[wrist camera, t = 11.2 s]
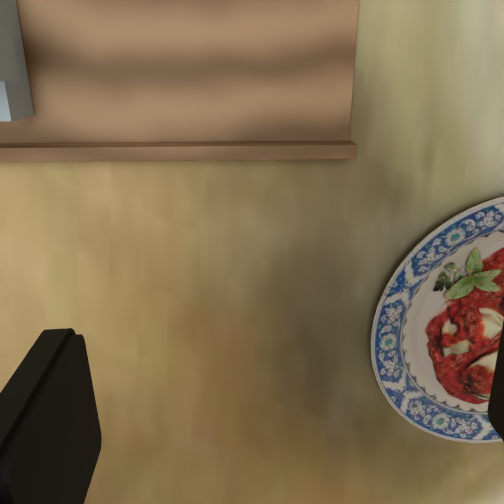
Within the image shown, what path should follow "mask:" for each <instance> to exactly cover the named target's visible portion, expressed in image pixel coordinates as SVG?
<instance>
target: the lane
mask: <svg viewBox="0 0 504 504" xmlns="http://www.w3.org/2000/svg"><path fill="white" fill-rule="evenodd" d="M16 5H17V11H18V17H19V23H20V30H21V36H22V42H23V49H24V55H25V61H26V68H27V74H28V80H29V87H30V93H31V99H32V106H33V112H34V116H30V117H26V118H22V119H18V120H14V121H0V162H94V161H195V160H295V159H356V151H357V145H356V144H354V143H352V142H351V141H349V132H350V118H351V104H352V90H353V76H354V62H355V49H356V35H357V21H358V7H359V0H16Z"/></svg>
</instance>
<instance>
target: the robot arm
mask: <svg viewBox="0 0 504 504" xmlns="http://www.w3.org/2000/svg"><path fill="white" fill-rule="evenodd" d="M488 418H489V421H490V423H491V425H492V427H493V428H494V429H495V431H496V432H497V433H498V435H499V436H500V437H501V439H502V440H503V441H504V320H503V326H502V332H501V337H500V343H499V348H498V354H497V359H496V365H495V370H494V376H493V381H492V387H491V392H490V398H489V403H488ZM100 450H101V430H100V424H99V419H98V413H97V407H96V402H95V396H94V390H93V385H92V379H91V373H90V368H89V362H88V356H87V351H86V345H85V340H84V337H83V335H82V334H81V335H76V334H75V331H74V330H73V329H72V328H68V329H50V330H44V331H43V332H42V333H41V334H40V336H39V337H38V339H37V340H36V342H35V343H34V345H33V346H32V348H31V349H30V351H29V352H28V353H27V355H26V356H25V358H24V359H23V361H22V362H21V364H20V365H19V367H18V368H17V370H16V371H15V372H14V374H13V375H12V377H11V378H10V380H9V381H8V383H7V384H6V386H5V387H4V389H3V390H2V391H1V393H0V504H84V501H85V498H86V495H87V491H88V488H89V485H90V482H91V479H92V476H93V472H94V469H95V466H96V463H97V460H98V457H99V454H100Z"/></svg>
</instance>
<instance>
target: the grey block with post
mask: <svg viewBox="0 0 504 504" xmlns="http://www.w3.org/2000/svg"><path fill="white" fill-rule="evenodd" d="M30 116H34V112H33V106H32V99H31V93H30V87H29V80H28V74H27V68H26V61H25V55H24V49H23V42H22V36H21V30H20V23H19V17H18V11H17V5H16V0H0V121H14V120H18V119H22V118H26V117H30Z"/></svg>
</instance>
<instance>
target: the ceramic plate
mask: <svg viewBox="0 0 504 504" xmlns="http://www.w3.org/2000/svg"><path fill="white" fill-rule="evenodd" d="M503 320H504V196H503V197H499V198H495V199H492V200H489V201H486V202H483V203H481V204H479V205H476V206H474V207H472V208H469V209H467V210H465V211H463V212H462V213H460V214H458V215H456V216H454V217H453V218H451V219H449V220H448V221H446V222H445V223H443V224H442V225H440V226H439V227H438V228H436V229H435V230H434V231H432V232H431V233H430V234H428V235H427V236H426V237H425V238H424V239H423V240H422V241H421V242H420V243H419V244H417V245H416V246H415V248H414V249H413V250H412V251H411V252H410V253H409V254H408V255H407V256H406V257H405V259H404V260H403V261H402V263H401V264H400V265H399V266H398V268H397V269H396V271H395V272H394V274H393V276H392V277H391V279H390V280H389V282H388V283H387V285H386V287H385V289H384V292H383V294H382V296H381V299H380V301H379V303H378V306H377V309H376V312H375V316H374V320H373V325H372V330H371V360H372V365H373V369H374V373H375V376H376V379H377V382H378V384H379V386H380V389H381V390H382V392H383V394H384V395H385V397H386V399H387V400H388V402H389V403H390V404H391V406H392V407H393V408H394V409H395V410H396V411H397V412H398V413H399V414H400V415H401V416H402V417H403V418H405V419H406V420H407V421H408V422H410V423H411V424H413V425H414V426H416V427H418V428H419V429H421V430H423V431H425V432H427V433H430V434H432V435H435V436H437V437H440V438H444V439H448V440H454V441H459V442H468V443H489V442H500V441H503V440H502V439H501V437H500V436H499V435H498V433H497V432H496V431H495V429H494V428H493V427H492V425H491V423H490V421H489V418H488V403H489V398H490V392H491V387H492V381H493V376H494V370H495V365H496V359H497V354H498V348H499V343H500V337H501V332H502V326H503Z"/></svg>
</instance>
